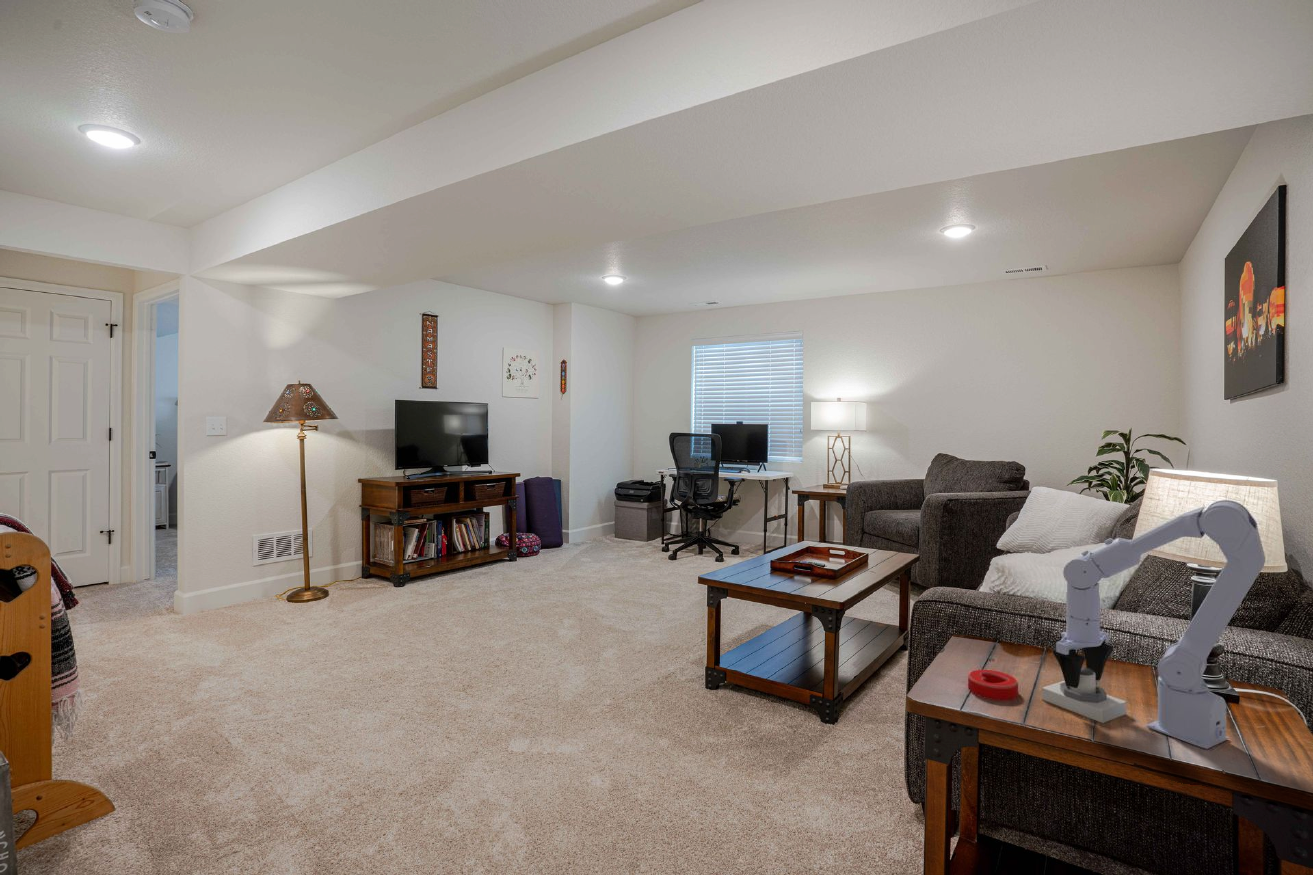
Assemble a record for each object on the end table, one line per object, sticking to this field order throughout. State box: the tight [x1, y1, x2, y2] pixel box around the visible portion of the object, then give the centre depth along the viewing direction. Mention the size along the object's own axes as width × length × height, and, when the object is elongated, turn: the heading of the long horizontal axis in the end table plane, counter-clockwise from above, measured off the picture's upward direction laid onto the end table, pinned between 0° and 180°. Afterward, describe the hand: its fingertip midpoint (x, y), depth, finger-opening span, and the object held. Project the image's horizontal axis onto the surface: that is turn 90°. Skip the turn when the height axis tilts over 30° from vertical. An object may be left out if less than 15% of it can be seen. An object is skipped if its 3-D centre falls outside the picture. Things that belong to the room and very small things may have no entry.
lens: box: [1070, 666, 1097, 695], centre depth 132 cm, size 4×4×5 cm
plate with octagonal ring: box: [1041, 680, 1127, 724], centre depth 132 cm, size 12×8×4 cm, turn 26°
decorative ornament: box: [967, 669, 1019, 701], centre depth 140 cm, size 10×10×3 cm
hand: (1083, 682), depth 132 cm, fingers open, 7 cm apart
